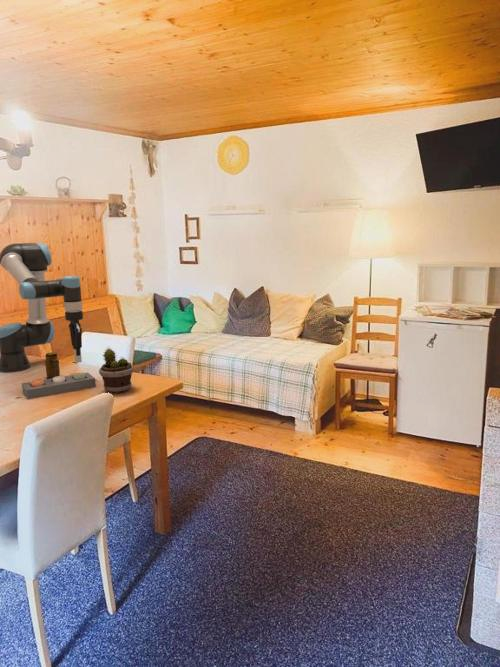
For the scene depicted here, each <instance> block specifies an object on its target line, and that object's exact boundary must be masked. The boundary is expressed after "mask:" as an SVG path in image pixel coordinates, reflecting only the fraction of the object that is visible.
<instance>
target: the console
mask: <svg viewBox="0 0 500 667" xmlns="http://www.w3.org/2000/svg"><path fill="white" fill-rule="evenodd" d="M84 373H85V378H83V379H77V380H74V376H73V374H70V375H63V376H64V377H65V382H60V383H53V378H51V379H46V378H44V379H42V380H43V381H44V385H42V386H36V387H32V386H31V381H27V382H26V381H25V382H22V383H21V389H22V393H23V394H24V396H25V398H26V399H27V400H30V399H37V398H42V397H48V396H53V395H58V394H64V393H69V392H75V390H76V391H79V390H80V389H81V390H85V389H86V388H87V389H92V388H96V387H97V380H96V377H94V376H93V375H91V373H89V372H84ZM87 389H86V390H87Z"/></svg>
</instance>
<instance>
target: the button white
mask: <svg viewBox="0 0 500 667" xmlns="http://www.w3.org/2000/svg"><path fill="white" fill-rule="evenodd" d="M64 376H65V375H60V376H56V377H53V383H60V382H65V377H64Z"/></svg>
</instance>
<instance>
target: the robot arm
mask: <svg viewBox="0 0 500 667" xmlns="http://www.w3.org/2000/svg"><path fill="white" fill-rule="evenodd" d="M51 264H52V255H51V252H50V250H49V247H48V246H47V245H46V244H45V243H44V242H41V243H40V242H25V243H23V242H22V243H11V244H9V245H6V246H5V247H3V249H2V250H1V251H0V266H1V267H2V268H3V269H4V270H5V271H7V272H9V274H10V275H11V277H12V278H13V279H14V280H15V281H16V283H17V284H18V293H19V295H20V298H21V299H22V300H27V307H28V308H27V310H28V312H27V313H28V317H27V318H26V320H25V324H23V323H22V322H11V323H7V324H4V325H1V326H0V372H2V373H14V372H15V373H16V372H21V371H24V370H28V369H29V368H31V363H30V360H29V358H28V356H27V354H26V349H25V348H27V347H34V346H40V345H41V346H42V345H43V346H44V345H47V344H50V343H51V342H52V341H53V339H54V337H55V328H54V324H53V322H52V321H50V318H49V317H47V306H46V305H47V302H46V300H47V299H46V298H55V297H56V298H58V297H62V298H63V304H62V307H64V311H65V312H64V316H65V317H64V318H65V320H66V322H67V321H69V324H68V328H69V333H70V341H71V346H72V349H73V355H74V358H73V359H74V363H75V364H77V363H82V347H83V342H82V341H83V339H82V338H83V337H82V336H83V335H82V334H83V333H82V332H83V331H82V330H83V328H82V327H81V323H80V321H81V320H83V319H84V312H83V301H82V291H81V286H82V285H81V280H80V277H79V275H67V276H64V275H63V276H62V277H61V279H60V278H58V279H53V280H50V279H49V280H46V276H45V275H46V274H45V273H46V272H47V271H48V267H50V266H51Z"/></svg>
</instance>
